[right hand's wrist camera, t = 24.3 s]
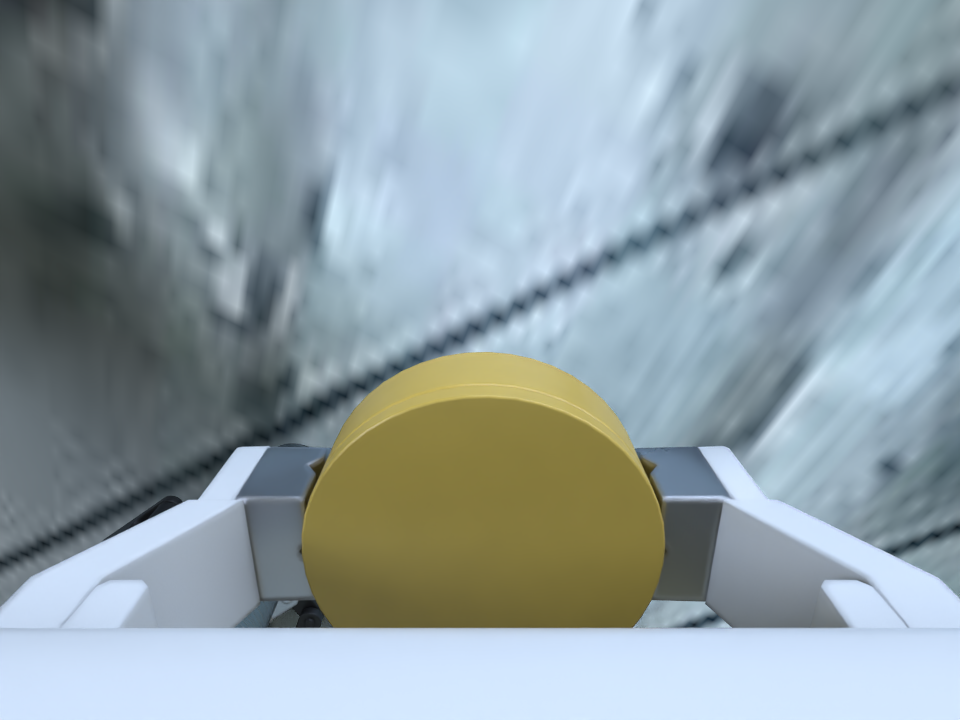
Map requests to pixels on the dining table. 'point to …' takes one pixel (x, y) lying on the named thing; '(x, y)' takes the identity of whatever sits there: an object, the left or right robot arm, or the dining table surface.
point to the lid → (483, 504)
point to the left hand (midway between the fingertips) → (288, 501)
